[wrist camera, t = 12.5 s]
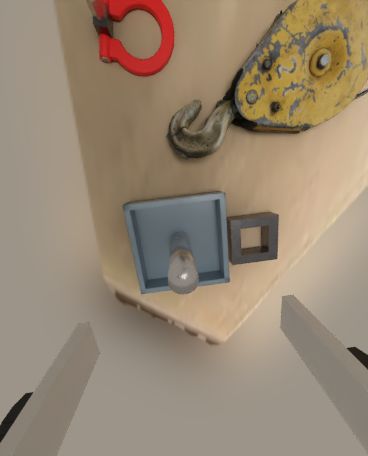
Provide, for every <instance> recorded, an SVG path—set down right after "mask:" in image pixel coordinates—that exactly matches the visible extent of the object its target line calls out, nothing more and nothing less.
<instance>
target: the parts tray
mask: <svg viewBox="0 0 368 456" xmlns="http://www.w3.org/2000/svg"><path fill="white" fill-rule="evenodd" d="M123 210H124V215H125V219H126V224H127V229H128V233H129V238H130V243H131V247H132V252H133V257H134V261H135V266H136V271H137V276H138V280H139V285H140V290H141V294H145V293H153V292H160V291H168V290H171V288H170V287H169V285H168V268H169V252H170V238H171V236H172V235H173V234H174V233H176V232H184V233H186V234H187V235H188V237H189V240H190V244H191V248H192V252H193V256H194V260H195V264H196V268H197V272H198V276H199V284H198V286H205V285H212V284H220V283H227V282H230V278H229V259H228V240H227V221H226V202H225V193H224V192H220V191H216V192H208V193H200V194H192V195H184V196H175V197H167V198H159V199H151V200H143V201H135V202H128V203H126V204H124V205H123Z"/></svg>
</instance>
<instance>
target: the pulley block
mask: <svg viewBox="0 0 368 456" xmlns="http://www.w3.org/2000/svg"><path fill="white" fill-rule="evenodd" d="M367 80H368V0H297V1H295V2H294V3H293V4H291V5H290V6H289V7H288V8H287V9H286V10H285V11H284V12H283V13H282V10H281V12H280V14H278V15H277V16H276V18H275V20H274V21H273V23H272V25H271V27H270V29H269V30H268V32H267V33H266V34H265V36H264V37H263V39H262V40H261V41H260V43H259V44H257V46H256V48H255V50H254V51H253V52H252V54H251V55H250V56H249V57H248V59H247V60H246V61H245V63H244V64H243V65H242V67H241V68H240V69H239V71H238V72H237V74H236V76H235V78H234V79H233V82H232V85H231V88H230V89H229V90H228V91H227V92H226V96H225V97H223V100H219V101H218V102H217V105H216V109H215V110H214V112H213V113H212V114H211V115H210V116H209V117H208V118H207V120H206V121H205V124H204V127H203V128H202V129H201V130H200V131H198V132H191V131H189V130H188V127H189V125H190V123H191V122H192V121H193V120H194V119H195V118H196V116H197V115H198V113H199V111H200V110H201V101H200V100H199V99H198V100H194V101H193V102H191V103H190V104H188V105H186V106H185V107H183V108H182V109H181V110H179V111H178V112H177V113H176V114H175V115H174V116H173V118H172V120H171V122H170V125H169V133H168V135H167V136H166V137H168V138H169V141H170V146H173V147H174V148H175V150H176V153H177V154H178V155H181V156H182V158H186V160H187V158H200V157H205V156H207V155H210V154H212V153H213V152H215V151H216V150H217V149H218V148H219V147H220V145H221V144H222V142H223V140H224V138H225V134H226V131H227V128H228V125H229V124H230V123H231V122H232V123H233V124H235V125H236V126H240V127H243V128H246V129H248V130H252V131H268V132H294V133H300V131H305V130H308V129H310V128H312V127H314V126H316V125H318V124H321V123H323V122H325V121H327V120H329V119H331V118H332V117H334V116H336V115H337V114H338V113H340V112H341V111H342V110H343V109H344V108H345V107H346V106H347V105H348V104H350V103H351V102H352V101H353V100H354V99H356V98H358V97H360V96H362V95H364V94H366V93H367V92H368V90H366V91H364V92H362V93H360V94H358V93H359V92H360V90H361V89H362V87H363V86H364V84H365V83H366V81H367ZM357 94H358V95H357Z"/></svg>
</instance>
